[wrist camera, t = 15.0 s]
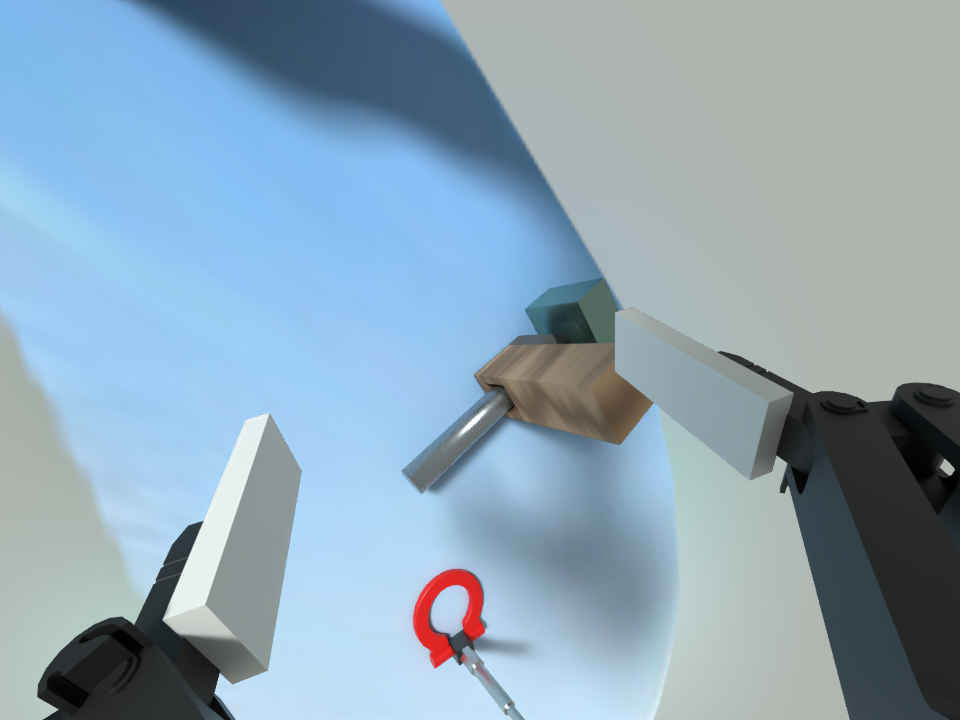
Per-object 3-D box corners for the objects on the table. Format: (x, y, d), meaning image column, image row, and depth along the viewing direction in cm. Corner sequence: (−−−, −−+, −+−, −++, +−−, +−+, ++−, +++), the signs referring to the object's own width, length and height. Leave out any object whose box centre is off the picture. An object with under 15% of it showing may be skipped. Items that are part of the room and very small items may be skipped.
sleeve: (473, 375, 45) (590, 387, 30) (508, 345, 47) (631, 342, 32) (498, 414, 47) (619, 445, 32) (530, 383, 49) (657, 398, 34)
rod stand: (371, 437, 39) (402, 458, 31) (549, 288, 51) (603, 277, 43) (424, 505, 42) (465, 539, 35) (580, 350, 54) (636, 350, 47)
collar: (508, 345, 47) (540, 344, 42) (518, 335, 48) (552, 334, 43) (530, 383, 49) (564, 387, 44) (540, 374, 50) (574, 377, 45)
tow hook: (403, 592, 42) (423, 668, 43) (460, 670, 31) (486, 771, 32) (469, 553, 46) (486, 624, 47) (540, 610, 35) (560, 701, 36)
